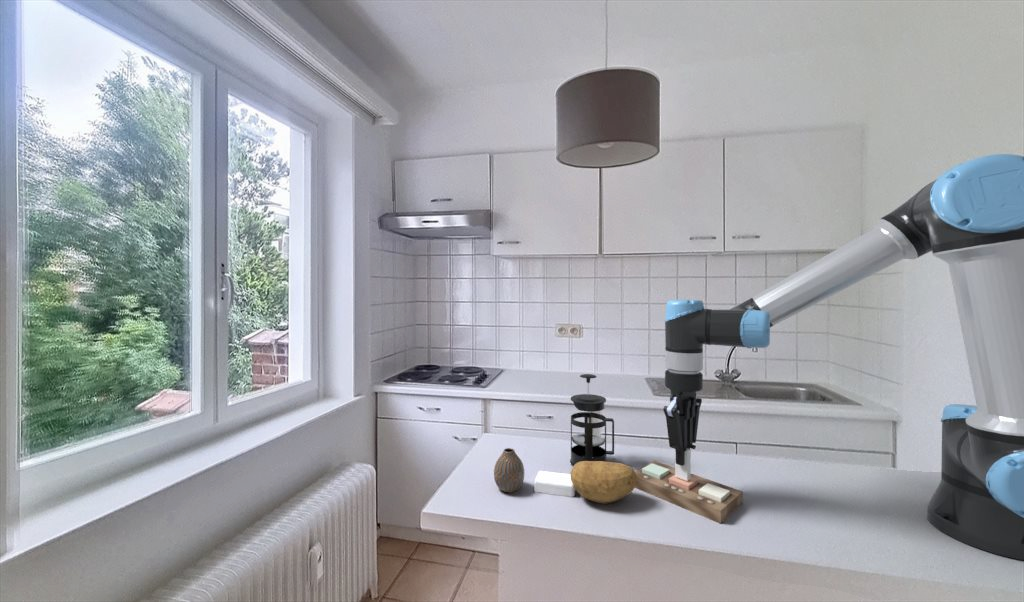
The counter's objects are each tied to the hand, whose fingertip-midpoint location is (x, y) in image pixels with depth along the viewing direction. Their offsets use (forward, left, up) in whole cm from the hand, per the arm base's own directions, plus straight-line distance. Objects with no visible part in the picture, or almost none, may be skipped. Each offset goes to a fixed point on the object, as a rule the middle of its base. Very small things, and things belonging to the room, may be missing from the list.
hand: (682, 477), depth 87 cm
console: (0, 0, -4) cm, 4 cm away
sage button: (+6, 0, -3) cm, 7 cm away
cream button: (-7, 0, -3) cm, 7 cm away
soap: (+20, +19, -4) cm, 28 cm away
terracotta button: (0, 0, -3) cm, 3 cm away
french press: (+23, +3, -4) cm, 23 cm away
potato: (+10, +15, -4) cm, 18 cm away
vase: (+27, +27, -4) cm, 38 cm away
